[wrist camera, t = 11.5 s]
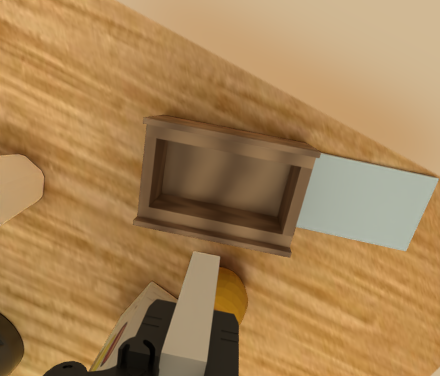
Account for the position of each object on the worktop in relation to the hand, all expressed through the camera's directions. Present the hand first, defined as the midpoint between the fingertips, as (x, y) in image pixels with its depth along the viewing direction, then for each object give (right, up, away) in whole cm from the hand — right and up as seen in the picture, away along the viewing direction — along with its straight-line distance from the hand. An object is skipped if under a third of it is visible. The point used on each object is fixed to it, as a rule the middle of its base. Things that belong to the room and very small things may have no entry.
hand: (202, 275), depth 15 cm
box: (+2, +7, +21) cm, 22 cm away
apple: (+1, -8, +26) cm, 27 cm away
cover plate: (+18, +3, +21) cm, 28 cm away
